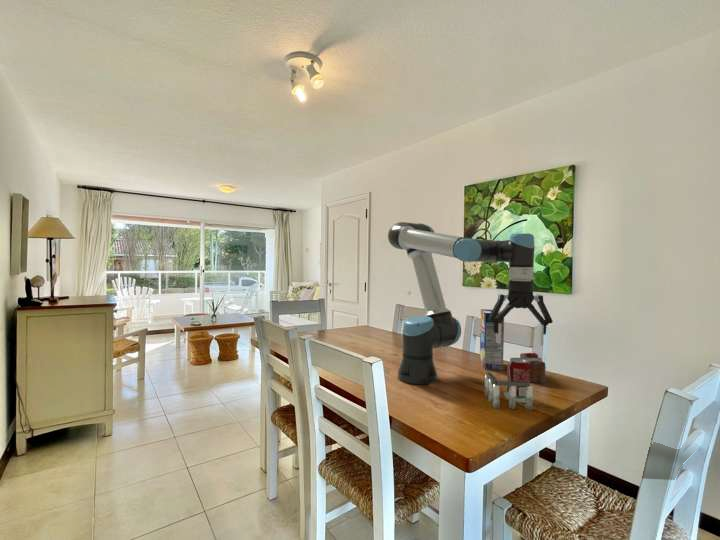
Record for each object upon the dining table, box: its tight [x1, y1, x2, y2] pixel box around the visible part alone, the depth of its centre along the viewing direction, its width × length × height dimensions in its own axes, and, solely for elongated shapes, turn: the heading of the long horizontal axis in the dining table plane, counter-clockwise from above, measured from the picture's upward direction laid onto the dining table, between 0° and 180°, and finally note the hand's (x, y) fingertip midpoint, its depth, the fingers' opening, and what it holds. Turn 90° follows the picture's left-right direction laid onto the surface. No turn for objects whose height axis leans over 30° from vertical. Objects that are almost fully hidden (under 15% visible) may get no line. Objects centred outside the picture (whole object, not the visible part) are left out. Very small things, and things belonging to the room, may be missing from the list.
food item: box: [519, 352, 546, 384], centre depth 141 cm, size 14×8×10 cm, turn 170°
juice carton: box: [479, 308, 505, 371], centre depth 156 cm, size 12×8×24 cm, turn 171°
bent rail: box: [483, 371, 534, 410], centre depth 116 cm, size 12×11×8 cm
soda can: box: [506, 357, 531, 398], centre depth 119 cm, size 7×7×12 cm
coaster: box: [503, 390, 534, 404], centre depth 120 cm, size 9×9×1 cm
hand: (519, 343), depth 119 cm, fingers open, 13 cm apart
